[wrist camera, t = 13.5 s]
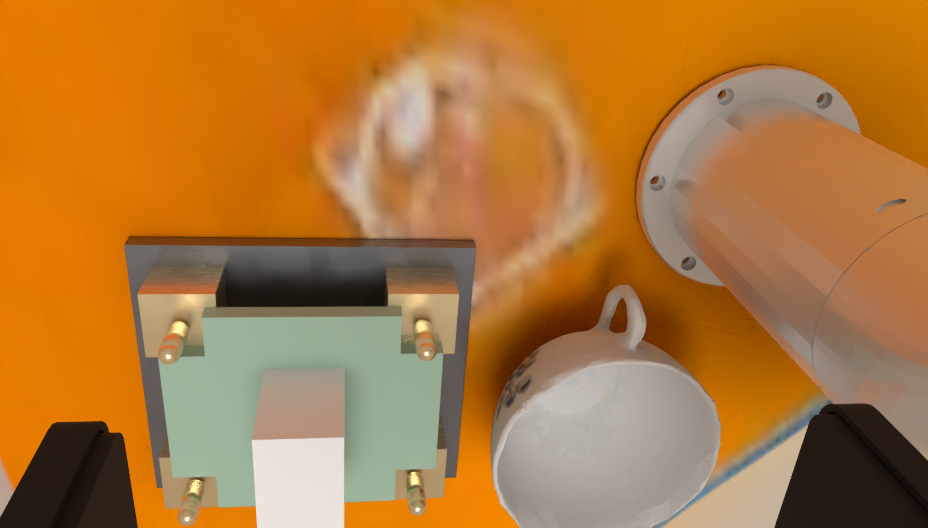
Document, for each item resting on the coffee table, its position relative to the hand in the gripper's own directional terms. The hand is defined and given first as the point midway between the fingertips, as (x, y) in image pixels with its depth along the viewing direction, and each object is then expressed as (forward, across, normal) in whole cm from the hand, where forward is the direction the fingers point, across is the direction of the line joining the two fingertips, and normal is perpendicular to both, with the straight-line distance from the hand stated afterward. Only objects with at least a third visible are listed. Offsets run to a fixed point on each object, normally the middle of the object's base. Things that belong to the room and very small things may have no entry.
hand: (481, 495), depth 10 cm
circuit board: (+26, +4, +18) cm, 32 cm away
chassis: (+30, +4, +18) cm, 35 cm away
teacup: (+31, -12, +18) cm, 37 cm away
